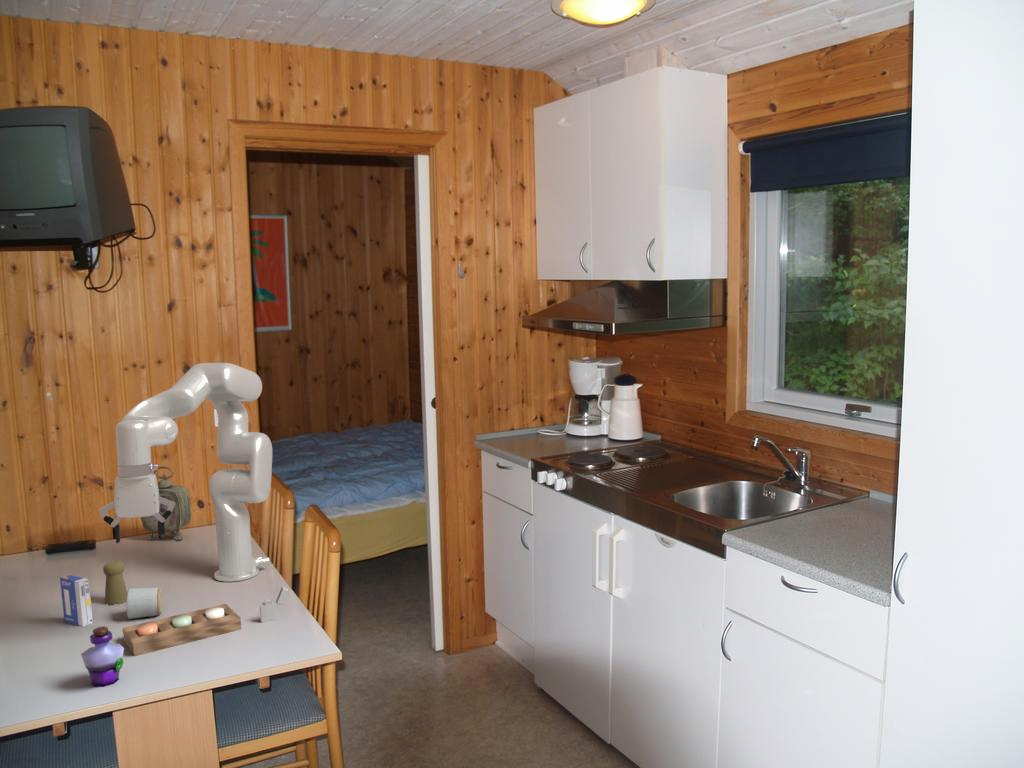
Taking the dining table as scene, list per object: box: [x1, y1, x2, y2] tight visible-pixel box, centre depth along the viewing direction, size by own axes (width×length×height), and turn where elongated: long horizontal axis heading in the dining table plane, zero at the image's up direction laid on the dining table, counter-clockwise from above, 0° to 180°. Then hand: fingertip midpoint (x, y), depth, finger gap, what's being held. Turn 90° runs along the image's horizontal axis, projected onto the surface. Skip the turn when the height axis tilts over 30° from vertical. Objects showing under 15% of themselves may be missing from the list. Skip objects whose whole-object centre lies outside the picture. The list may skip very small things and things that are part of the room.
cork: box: [102, 560, 128, 606], centre depth 241 cm, size 6×6×11 cm
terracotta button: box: [138, 623, 158, 637], centre depth 212 cm, size 4×4×2 cm
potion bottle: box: [80, 626, 125, 688], centre depth 192 cm, size 9×9×12 cm
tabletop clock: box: [140, 465, 192, 541], centre depth 300 cm, size 14×9×25 cm, turn 81°
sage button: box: [172, 615, 192, 628], centre depth 217 cm, size 4×4×2 cm
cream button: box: [206, 608, 224, 620], centre depth 221 cm, size 4×4×2 cm
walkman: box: [59, 574, 94, 627], centre depth 227 cm, size 8×3×12 cm, turn 60°
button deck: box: [122, 603, 242, 657], centre depth 217 cm, size 25×12×3 cm, turn 125°
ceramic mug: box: [126, 587, 164, 620], centre depth 232 cm, size 11×8×8 cm
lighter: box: [258, 586, 289, 624], centre depth 225 cm, size 7×2×8 cm, turn 115°
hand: (139, 539), depth 217 cm, fingers open, 9 cm apart
